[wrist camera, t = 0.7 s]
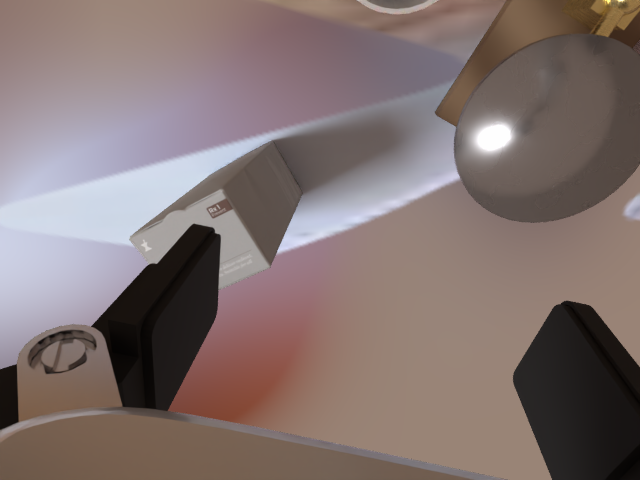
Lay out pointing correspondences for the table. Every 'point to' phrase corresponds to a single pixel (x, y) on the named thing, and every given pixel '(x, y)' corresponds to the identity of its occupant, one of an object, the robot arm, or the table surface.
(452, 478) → the robot arm
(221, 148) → the table surface
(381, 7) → the coffee mug
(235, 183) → the skincare box
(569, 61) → the balance
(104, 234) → the table surface
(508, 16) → the balance base
